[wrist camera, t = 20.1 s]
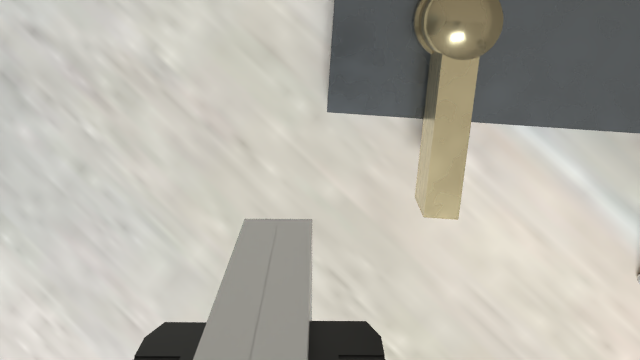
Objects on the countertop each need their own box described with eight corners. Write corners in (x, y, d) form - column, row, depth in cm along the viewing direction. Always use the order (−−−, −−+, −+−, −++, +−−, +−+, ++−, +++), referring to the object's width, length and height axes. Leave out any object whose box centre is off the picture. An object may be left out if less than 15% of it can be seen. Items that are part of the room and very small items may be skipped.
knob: (417, -20, 35) (428, -25, 31) (492, -15, 35) (512, -20, 31) (395, 194, 39) (402, 215, 34) (463, 199, 39) (478, 221, 34)
